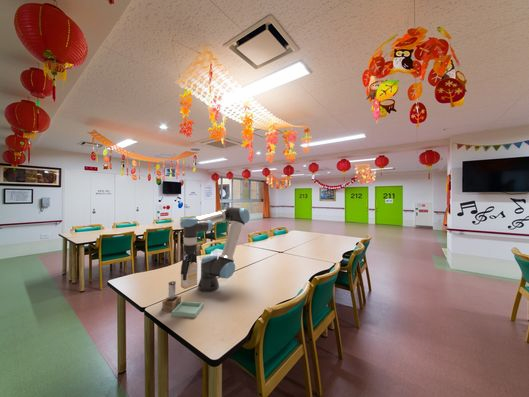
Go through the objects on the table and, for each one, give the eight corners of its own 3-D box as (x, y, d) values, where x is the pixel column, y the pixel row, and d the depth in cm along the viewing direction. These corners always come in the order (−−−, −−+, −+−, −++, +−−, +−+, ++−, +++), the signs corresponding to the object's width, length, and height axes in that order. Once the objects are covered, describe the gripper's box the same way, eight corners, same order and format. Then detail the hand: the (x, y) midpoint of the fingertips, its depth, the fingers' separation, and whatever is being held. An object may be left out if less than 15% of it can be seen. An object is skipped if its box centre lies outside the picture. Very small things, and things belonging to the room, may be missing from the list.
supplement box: (192, 282, 125) (193, 261, 125) (197, 285, 122) (197, 263, 122) (180, 287, 118) (180, 264, 119) (184, 289, 115) (185, 266, 115)
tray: (181, 305, 127) (182, 301, 127) (203, 306, 125) (203, 302, 125) (171, 316, 115) (171, 311, 115) (195, 318, 113) (195, 313, 113)
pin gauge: (170, 305, 126) (170, 281, 126) (176, 305, 126) (176, 281, 126) (166, 308, 122) (167, 283, 122) (172, 309, 122) (173, 284, 122)
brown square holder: (169, 303, 128) (169, 295, 128) (180, 304, 128) (181, 296, 128) (162, 309, 121) (162, 301, 121) (174, 310, 120) (174, 302, 120)
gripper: (192, 240, 131) (191, 274, 131) (174, 247, 110) (173, 289, 110) (203, 240, 131) (202, 275, 131) (187, 248, 109) (186, 290, 109)
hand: (189, 281), depth 120 cm, fingers closed on supplement box, 9 cm apart
